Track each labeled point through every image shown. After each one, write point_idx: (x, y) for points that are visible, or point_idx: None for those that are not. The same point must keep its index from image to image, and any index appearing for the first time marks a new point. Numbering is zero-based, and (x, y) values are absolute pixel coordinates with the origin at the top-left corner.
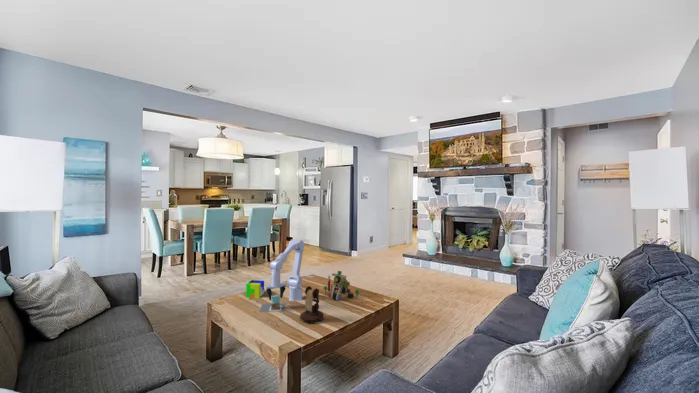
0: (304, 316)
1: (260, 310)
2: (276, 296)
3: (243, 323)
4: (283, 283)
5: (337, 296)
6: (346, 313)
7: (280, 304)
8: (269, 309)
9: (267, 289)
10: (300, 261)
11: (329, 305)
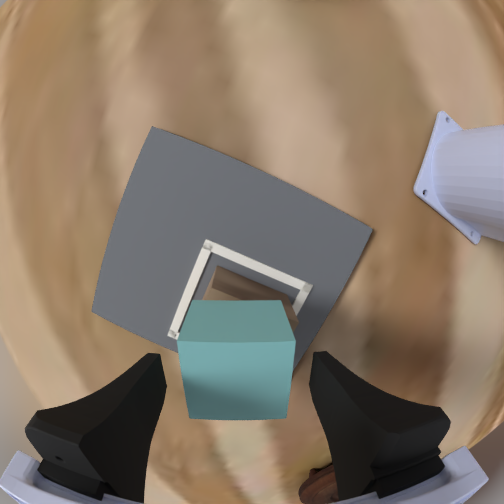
0: (312, 501)
1: (101, 286)
2: (250, 390)
3: (33, 382)
4: (460, 498)
5: None
6: (459, 439)
7: (318, 239)
8: (176, 307)
9: (64, 493)
10: None
11: (493, 365)
